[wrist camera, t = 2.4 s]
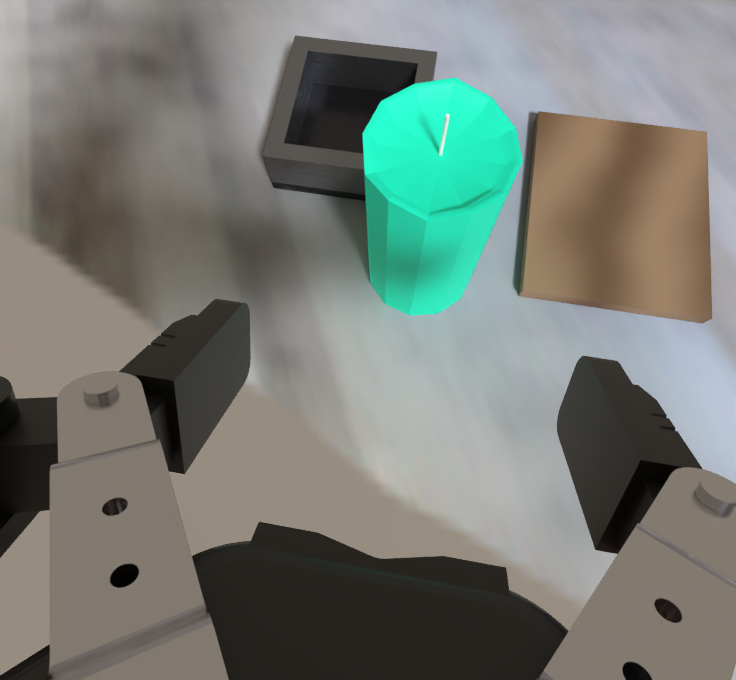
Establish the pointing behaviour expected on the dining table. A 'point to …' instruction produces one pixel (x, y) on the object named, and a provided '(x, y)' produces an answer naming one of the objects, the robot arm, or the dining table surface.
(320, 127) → the box
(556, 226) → the walnut board
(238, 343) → the robot arm
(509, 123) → the candle
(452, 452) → the dining table surface
